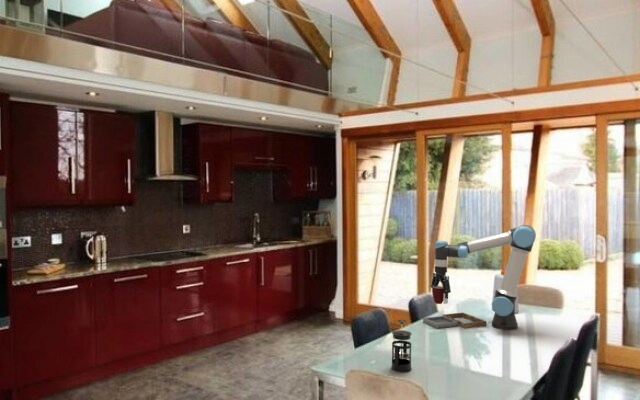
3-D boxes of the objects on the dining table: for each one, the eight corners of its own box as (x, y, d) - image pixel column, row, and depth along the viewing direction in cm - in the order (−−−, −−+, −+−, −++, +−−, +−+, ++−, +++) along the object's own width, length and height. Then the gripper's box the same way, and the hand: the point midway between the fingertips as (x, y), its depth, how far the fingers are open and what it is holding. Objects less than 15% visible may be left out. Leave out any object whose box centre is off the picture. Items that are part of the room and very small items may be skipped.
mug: (451, 303, 311) (451, 287, 310) (444, 306, 305) (445, 289, 304) (435, 301, 318) (436, 285, 317) (429, 303, 312) (429, 287, 311)
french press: (396, 363, 242) (396, 316, 242) (414, 367, 237) (415, 318, 237) (386, 370, 232) (387, 321, 232) (405, 374, 227) (406, 324, 227)
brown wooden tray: (486, 326, 309) (486, 321, 309) (464, 328, 303) (464, 323, 303) (462, 317, 330) (462, 312, 330) (442, 319, 324) (442, 314, 324)
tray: (457, 326, 307) (457, 321, 307) (436, 329, 302) (437, 324, 302) (443, 320, 321) (443, 315, 321) (423, 322, 316) (423, 318, 316)
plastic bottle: (489, 309, 353) (490, 269, 352) (510, 308, 354) (510, 269, 354) (499, 314, 338) (500, 273, 337) (521, 314, 339) (521, 272, 339)
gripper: (425, 263, 320) (424, 298, 320) (446, 269, 298) (446, 306, 299) (435, 263, 322) (434, 297, 323) (457, 268, 301) (456, 305, 302)
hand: (440, 301), depth 311 cm, fingers closed on mug, 10 cm apart
